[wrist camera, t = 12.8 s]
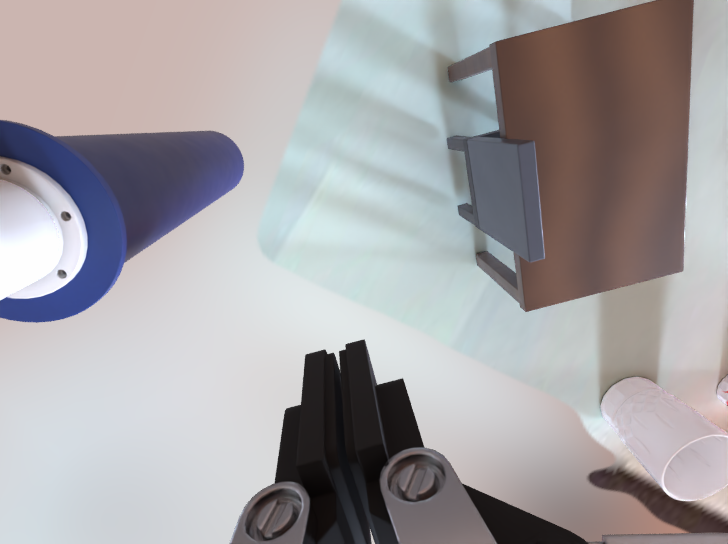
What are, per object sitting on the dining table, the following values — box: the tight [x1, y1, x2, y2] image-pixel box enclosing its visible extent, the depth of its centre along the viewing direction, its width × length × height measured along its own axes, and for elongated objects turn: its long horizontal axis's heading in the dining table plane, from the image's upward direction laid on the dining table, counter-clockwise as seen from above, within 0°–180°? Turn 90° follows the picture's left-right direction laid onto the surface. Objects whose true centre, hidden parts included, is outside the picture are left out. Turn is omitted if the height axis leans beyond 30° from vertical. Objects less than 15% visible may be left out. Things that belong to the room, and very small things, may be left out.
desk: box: [447, 0, 694, 312], centre depth 32 cm, size 12×18×10 cm, turn 13°
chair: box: [447, 130, 545, 262], centre depth 30 cm, size 7×7×14 cm
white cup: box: [600, 376, 728, 501], centre depth 43 cm, size 8×8×10 cm
